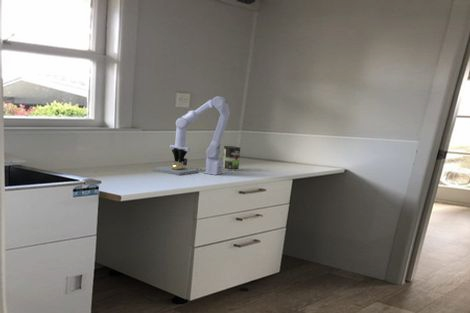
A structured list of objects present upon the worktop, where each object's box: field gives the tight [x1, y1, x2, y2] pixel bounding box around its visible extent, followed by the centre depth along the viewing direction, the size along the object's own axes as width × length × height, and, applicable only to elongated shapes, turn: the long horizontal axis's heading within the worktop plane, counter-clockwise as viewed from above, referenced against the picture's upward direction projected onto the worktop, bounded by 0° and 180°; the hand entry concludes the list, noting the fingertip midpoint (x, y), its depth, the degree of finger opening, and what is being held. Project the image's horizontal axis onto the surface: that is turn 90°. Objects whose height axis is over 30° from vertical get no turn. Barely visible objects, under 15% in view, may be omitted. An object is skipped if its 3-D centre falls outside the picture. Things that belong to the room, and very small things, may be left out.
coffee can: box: [222, 145, 241, 172], centre depth 286 cm, size 10×10×14 cm
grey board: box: [152, 165, 199, 176], centre depth 261 cm, size 19×18×2 cm
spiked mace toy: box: [171, 157, 188, 170], centre depth 263 cm, size 12×6×5 cm, turn 155°
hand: (178, 162), depth 267 cm, fingers open, 3 cm apart
